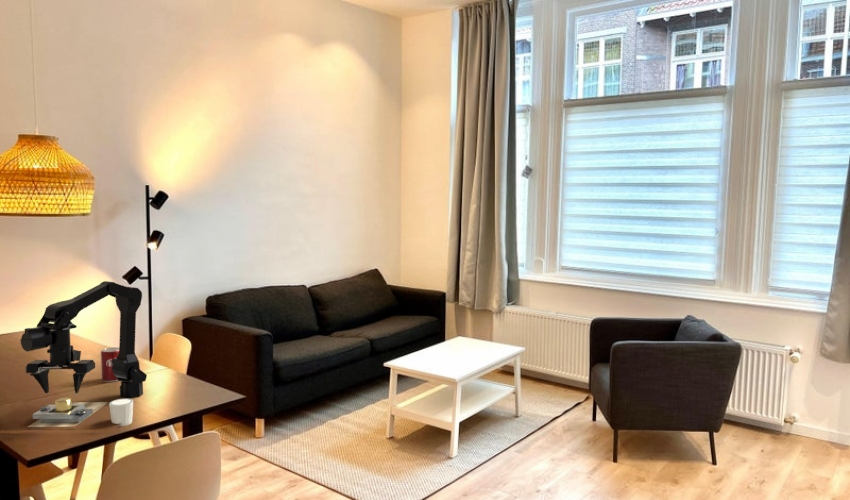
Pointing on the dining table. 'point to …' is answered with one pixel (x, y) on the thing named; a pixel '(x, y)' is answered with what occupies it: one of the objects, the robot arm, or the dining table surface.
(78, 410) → the square frame with knobs
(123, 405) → the white short tapered cylinder
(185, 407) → the dining table surface
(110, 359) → the soda can
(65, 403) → the pin
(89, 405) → the board
